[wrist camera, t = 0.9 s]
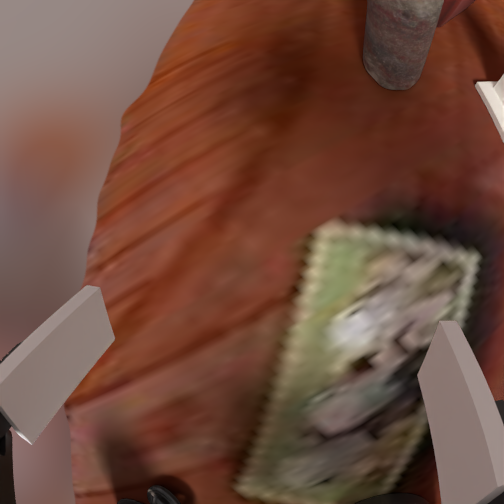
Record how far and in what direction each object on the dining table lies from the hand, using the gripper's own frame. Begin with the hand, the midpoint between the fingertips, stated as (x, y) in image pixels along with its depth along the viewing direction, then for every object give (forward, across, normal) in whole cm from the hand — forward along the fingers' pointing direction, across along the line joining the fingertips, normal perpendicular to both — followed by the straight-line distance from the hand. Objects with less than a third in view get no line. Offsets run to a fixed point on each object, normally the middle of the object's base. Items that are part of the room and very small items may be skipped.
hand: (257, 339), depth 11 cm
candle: (+30, -11, -16) cm, 36 cm away
